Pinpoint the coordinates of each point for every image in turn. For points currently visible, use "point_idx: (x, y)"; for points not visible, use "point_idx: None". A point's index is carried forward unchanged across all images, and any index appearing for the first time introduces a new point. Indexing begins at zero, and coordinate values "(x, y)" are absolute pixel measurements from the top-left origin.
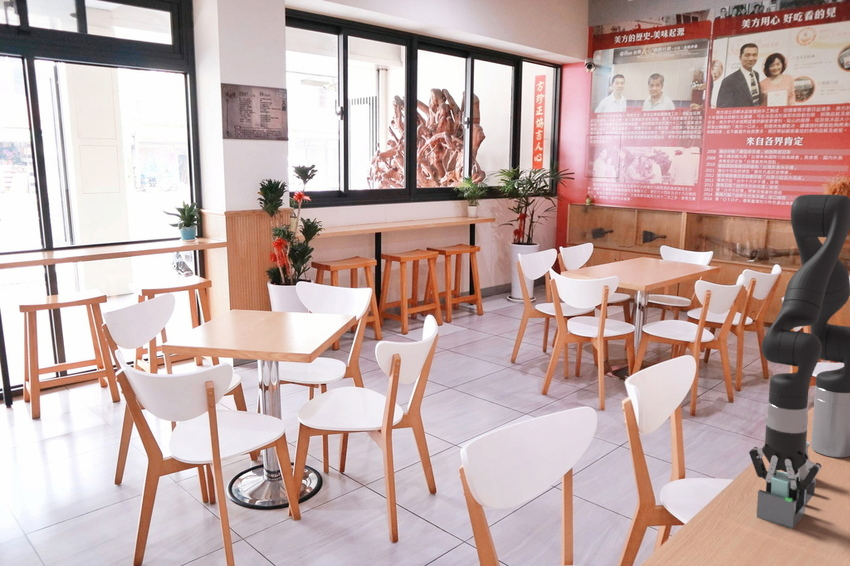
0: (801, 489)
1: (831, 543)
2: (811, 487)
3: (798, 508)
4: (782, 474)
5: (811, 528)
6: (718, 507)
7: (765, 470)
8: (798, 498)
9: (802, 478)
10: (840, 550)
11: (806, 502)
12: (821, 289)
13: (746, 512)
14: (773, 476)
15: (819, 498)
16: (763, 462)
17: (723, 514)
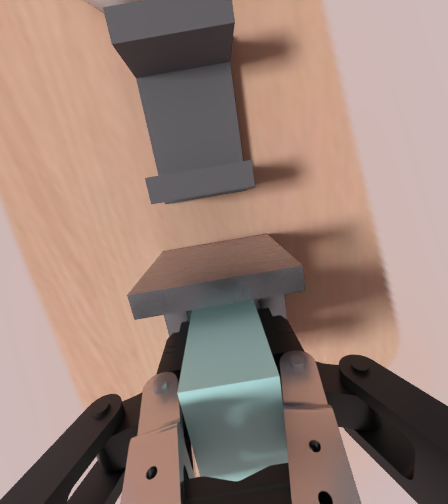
0: (288, 292)
1: (369, 314)
2: (224, 43)
3: (277, 299)
4: (220, 416)
5: (307, 284)
6: (86, 370)
7: (116, 436)
8: (288, 325)
9: (170, 13)
10: (393, 327)
11: (240, 151)
12: None
13: (148, 338)
14: (192, 456)
15: (248, 50)
16: (60, 489)
17: (119, 388)
